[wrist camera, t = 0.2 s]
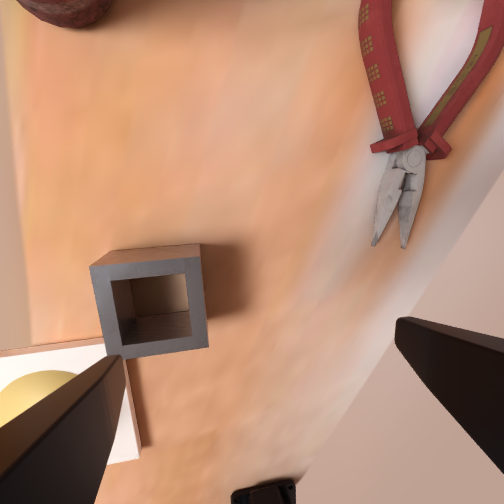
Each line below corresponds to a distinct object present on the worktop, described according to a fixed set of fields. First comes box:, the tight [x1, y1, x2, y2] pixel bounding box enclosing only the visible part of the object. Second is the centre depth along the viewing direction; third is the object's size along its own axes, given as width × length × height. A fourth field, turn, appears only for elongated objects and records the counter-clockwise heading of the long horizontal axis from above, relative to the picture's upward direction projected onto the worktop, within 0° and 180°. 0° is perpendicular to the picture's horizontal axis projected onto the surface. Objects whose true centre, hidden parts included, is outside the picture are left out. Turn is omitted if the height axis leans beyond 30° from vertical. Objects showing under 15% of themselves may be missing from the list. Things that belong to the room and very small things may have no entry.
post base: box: [0, 337, 142, 465], centre depth 20 cm, size 11×11×6 cm
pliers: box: [358, 0, 504, 249], centre depth 21 cm, size 12×20×3 cm, turn 174°
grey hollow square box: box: [89, 243, 209, 360], centre depth 20 cm, size 6×6×4 cm
